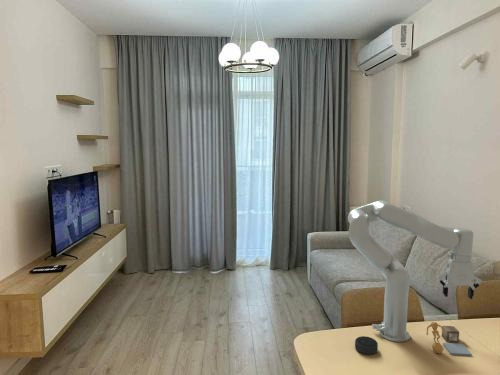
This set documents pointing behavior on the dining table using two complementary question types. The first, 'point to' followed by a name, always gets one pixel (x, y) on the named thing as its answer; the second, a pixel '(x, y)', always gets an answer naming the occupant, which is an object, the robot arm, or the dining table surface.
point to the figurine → (436, 346)
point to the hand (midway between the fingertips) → (457, 296)
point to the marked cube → (450, 334)
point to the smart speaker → (366, 345)
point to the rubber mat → (457, 349)
